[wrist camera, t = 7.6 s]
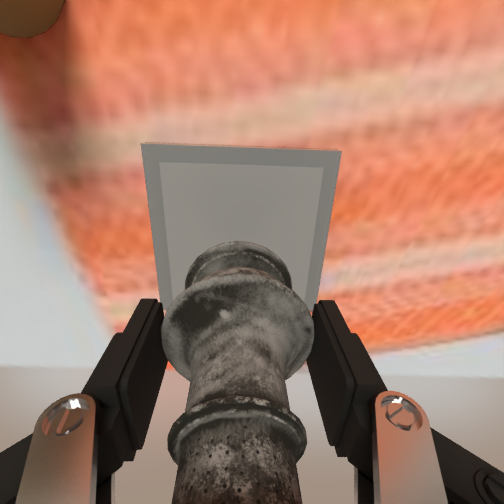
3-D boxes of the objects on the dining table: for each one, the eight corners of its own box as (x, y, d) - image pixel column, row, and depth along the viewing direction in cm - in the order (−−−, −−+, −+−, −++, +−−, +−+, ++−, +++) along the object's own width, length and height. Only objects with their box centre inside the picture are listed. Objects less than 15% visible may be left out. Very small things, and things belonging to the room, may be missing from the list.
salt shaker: (278, 343, 16) (364, 851, 5) (171, 325, 15) (-14, 889, 4) (314, 249, 13) (647, 845, 2) (188, 221, 12) (-157, 938, 2)
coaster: (336, 149, 18) (342, 151, 17) (312, 303, 23) (315, 312, 22) (146, 142, 18) (139, 143, 16) (164, 301, 23) (160, 310, 22)
